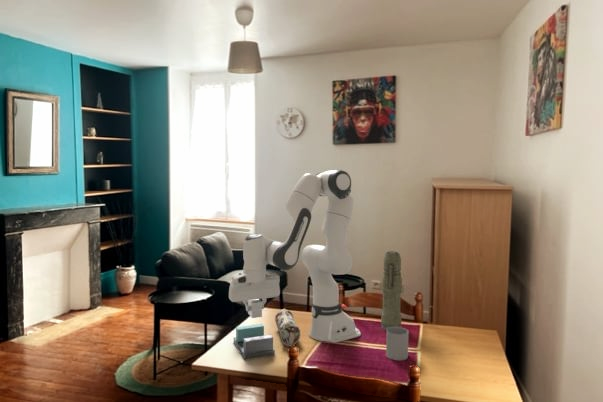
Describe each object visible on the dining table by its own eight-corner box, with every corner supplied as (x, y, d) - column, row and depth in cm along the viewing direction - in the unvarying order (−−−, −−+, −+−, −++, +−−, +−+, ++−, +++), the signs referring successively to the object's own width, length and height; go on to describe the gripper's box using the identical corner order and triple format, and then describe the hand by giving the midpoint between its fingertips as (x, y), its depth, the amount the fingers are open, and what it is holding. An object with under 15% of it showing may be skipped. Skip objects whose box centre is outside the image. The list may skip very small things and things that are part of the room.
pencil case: (301, 346, 179) (301, 323, 178) (280, 347, 178) (280, 324, 177) (293, 327, 201) (293, 306, 200) (274, 328, 199) (274, 307, 199)
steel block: (257, 312, 177) (257, 297, 176) (261, 316, 171) (261, 301, 171) (248, 313, 175) (247, 298, 175) (252, 318, 170) (252, 303, 169)
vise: (261, 338, 187) (261, 322, 187) (274, 355, 171) (274, 337, 170) (233, 342, 183) (233, 326, 182) (244, 360, 166) (244, 342, 166)
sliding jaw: (261, 335, 184) (261, 323, 184) (263, 337, 182) (263, 326, 181) (236, 339, 180) (236, 327, 180) (237, 341, 178) (237, 329, 177)
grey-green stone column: (401, 324, 204) (402, 250, 201) (401, 334, 192) (402, 255, 189) (381, 323, 206) (383, 249, 203) (380, 332, 194) (381, 254, 191)
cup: (395, 362, 165) (395, 336, 164) (381, 353, 172) (382, 328, 171) (412, 357, 169) (413, 332, 168) (398, 349, 176) (399, 325, 175)
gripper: (277, 271, 179) (277, 304, 180) (227, 275, 171) (227, 310, 172) (282, 274, 173) (282, 309, 174) (231, 279, 165) (231, 315, 167)
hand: (254, 309), depth 173 cm, fingers closed on steel block, 4 cm apart
